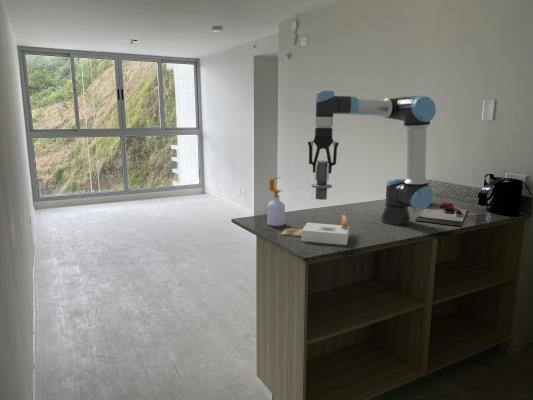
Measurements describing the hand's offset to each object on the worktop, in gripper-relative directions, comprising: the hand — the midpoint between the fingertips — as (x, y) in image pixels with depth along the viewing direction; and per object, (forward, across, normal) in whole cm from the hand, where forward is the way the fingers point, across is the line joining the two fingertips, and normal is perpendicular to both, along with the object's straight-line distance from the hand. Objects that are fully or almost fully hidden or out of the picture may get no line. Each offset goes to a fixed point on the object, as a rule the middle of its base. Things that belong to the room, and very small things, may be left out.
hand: (321, 180), depth 183 cm
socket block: (+27, -3, 0) cm, 27 cm away
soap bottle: (+27, +25, -19) cm, 41 cm away
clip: (+20, -10, -8) cm, 24 cm away
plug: (+8, 0, 0) cm, 8 cm away
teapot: (+27, -52, -93) cm, 110 cm away
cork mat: (+27, +13, -6) cm, 30 cm away
